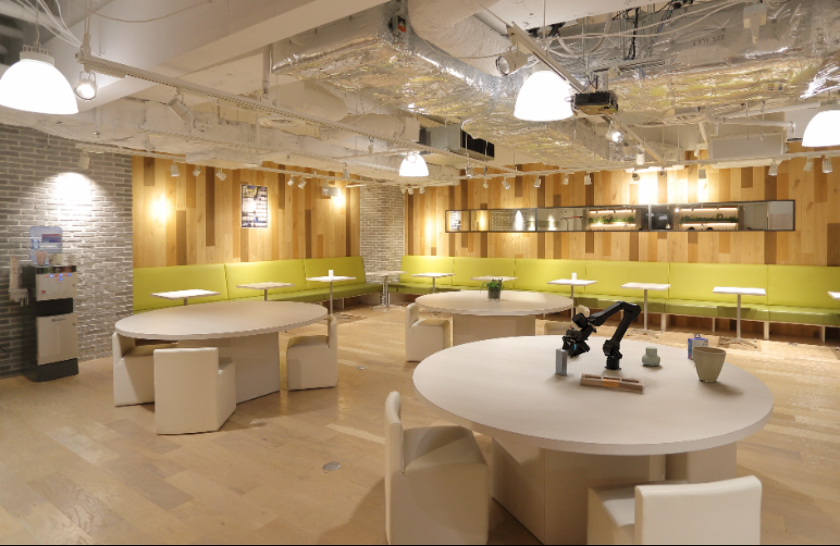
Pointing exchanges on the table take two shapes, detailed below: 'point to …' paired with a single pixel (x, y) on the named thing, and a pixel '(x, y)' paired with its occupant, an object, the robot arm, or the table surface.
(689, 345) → the ink cartridge box
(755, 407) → the table surface
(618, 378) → the slot rack
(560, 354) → the gray rectangular block
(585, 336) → the robot arm
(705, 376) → the plant pot
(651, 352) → the air freshener
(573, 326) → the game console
